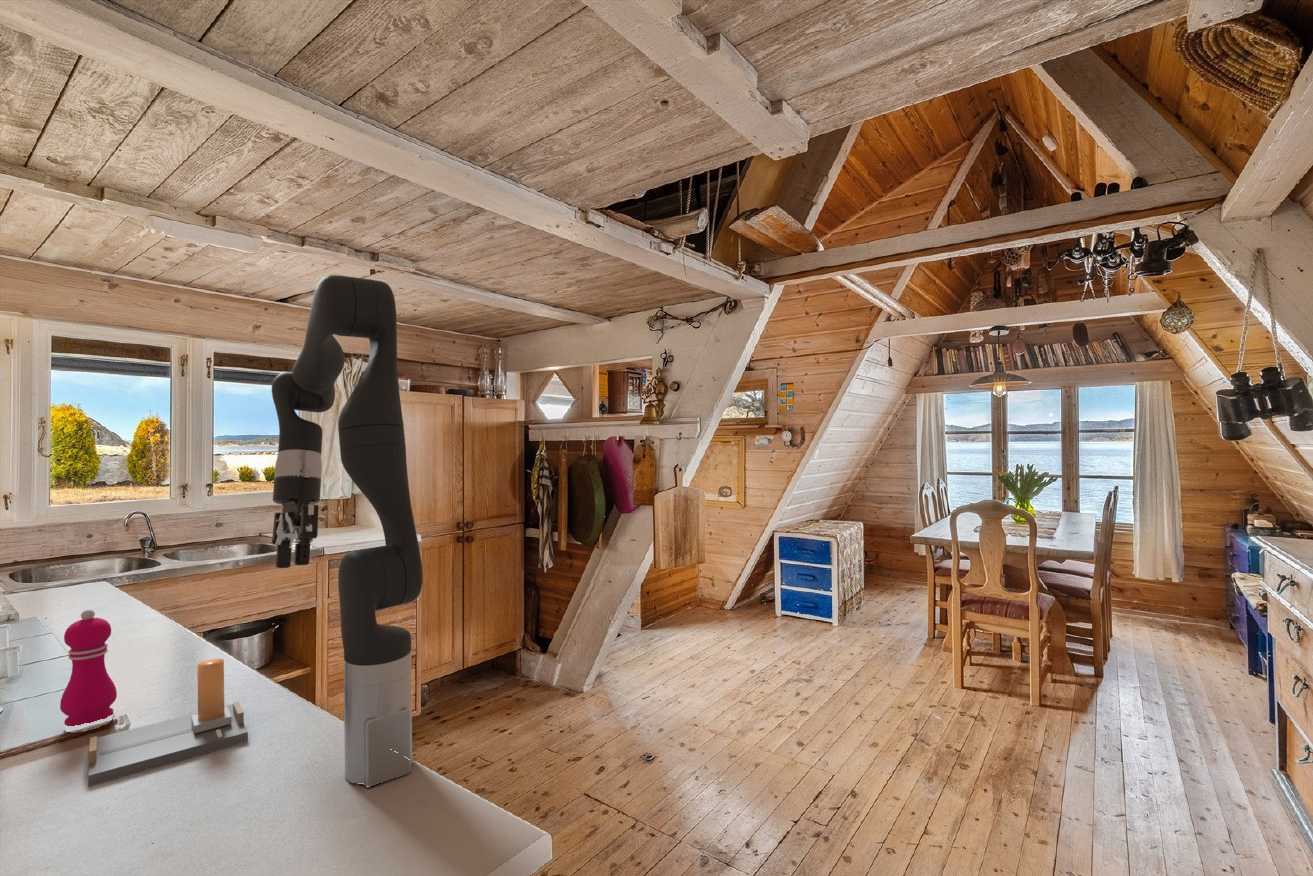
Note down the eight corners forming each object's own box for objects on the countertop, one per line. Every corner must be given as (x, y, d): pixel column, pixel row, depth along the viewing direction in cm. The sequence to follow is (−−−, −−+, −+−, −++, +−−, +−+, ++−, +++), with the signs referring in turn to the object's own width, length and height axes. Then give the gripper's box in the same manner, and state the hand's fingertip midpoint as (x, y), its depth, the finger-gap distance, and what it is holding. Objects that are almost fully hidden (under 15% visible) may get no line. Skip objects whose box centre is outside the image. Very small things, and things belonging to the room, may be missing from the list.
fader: (231, 723, 103) (230, 662, 103) (194, 733, 100) (193, 670, 100) (227, 713, 107) (226, 654, 107) (191, 722, 104) (190, 662, 103)
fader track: (247, 741, 101) (247, 721, 101) (88, 786, 88) (88, 763, 88) (235, 712, 111) (234, 693, 111) (91, 748, 99) (90, 728, 99)
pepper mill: (82, 737, 102) (80, 617, 102) (48, 733, 104) (46, 614, 104) (128, 717, 110) (126, 605, 109) (95, 713, 111) (93, 602, 111)
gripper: (261, 481, 116) (254, 569, 112) (291, 469, 107) (284, 564, 103) (304, 484, 121) (298, 568, 118) (336, 473, 113) (331, 563, 109)
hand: (292, 566), depth 111 cm, fingers open, 8 cm apart
